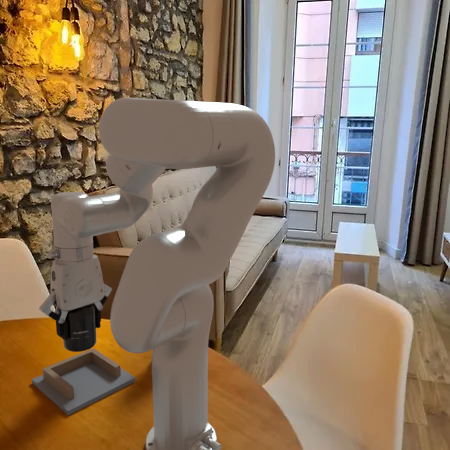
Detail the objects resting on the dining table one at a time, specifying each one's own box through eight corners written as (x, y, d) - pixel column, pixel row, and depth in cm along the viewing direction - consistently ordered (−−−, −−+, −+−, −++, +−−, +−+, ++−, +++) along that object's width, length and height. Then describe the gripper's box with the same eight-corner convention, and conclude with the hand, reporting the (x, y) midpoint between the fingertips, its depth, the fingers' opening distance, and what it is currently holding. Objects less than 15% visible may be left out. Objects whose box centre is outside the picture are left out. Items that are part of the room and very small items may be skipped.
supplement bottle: (78, 356, 90) (74, 302, 87) (57, 347, 94) (52, 294, 91) (103, 342, 96) (100, 291, 93) (82, 334, 99) (79, 284, 97)
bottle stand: (135, 381, 97) (135, 367, 96) (68, 415, 86) (66, 399, 85) (96, 356, 108) (95, 343, 107) (32, 383, 96) (30, 368, 95)
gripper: (41, 266, 81) (49, 353, 85) (120, 247, 94) (124, 324, 98) (24, 257, 86) (32, 339, 90) (101, 241, 99) (105, 314, 103)
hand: (79, 331), depth 94 cm, fingers closed on supplement bottle, 6 cm apart
